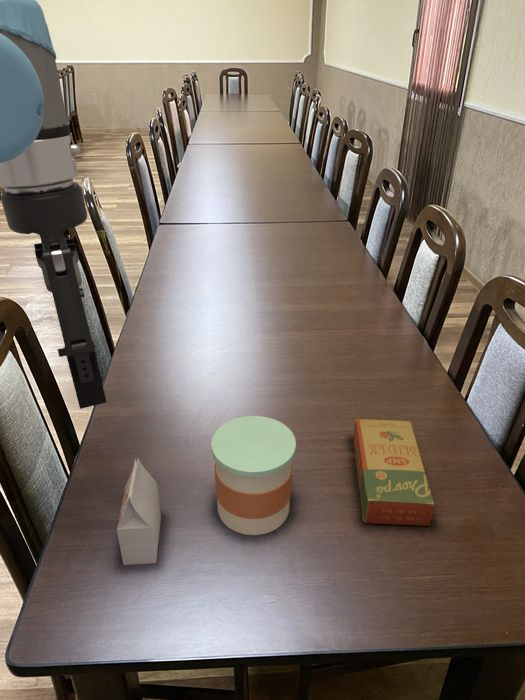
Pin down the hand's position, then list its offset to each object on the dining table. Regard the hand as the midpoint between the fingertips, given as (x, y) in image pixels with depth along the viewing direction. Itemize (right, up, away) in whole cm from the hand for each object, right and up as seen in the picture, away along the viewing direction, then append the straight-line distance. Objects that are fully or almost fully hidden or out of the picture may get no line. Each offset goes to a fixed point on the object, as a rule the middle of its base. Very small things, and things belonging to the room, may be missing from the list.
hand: (86, 375), depth 62 cm
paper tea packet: (+6, -20, +3) cm, 21 cm away
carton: (+37, -15, +12) cm, 42 cm away
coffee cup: (+19, -17, +7) cm, 27 cm away
